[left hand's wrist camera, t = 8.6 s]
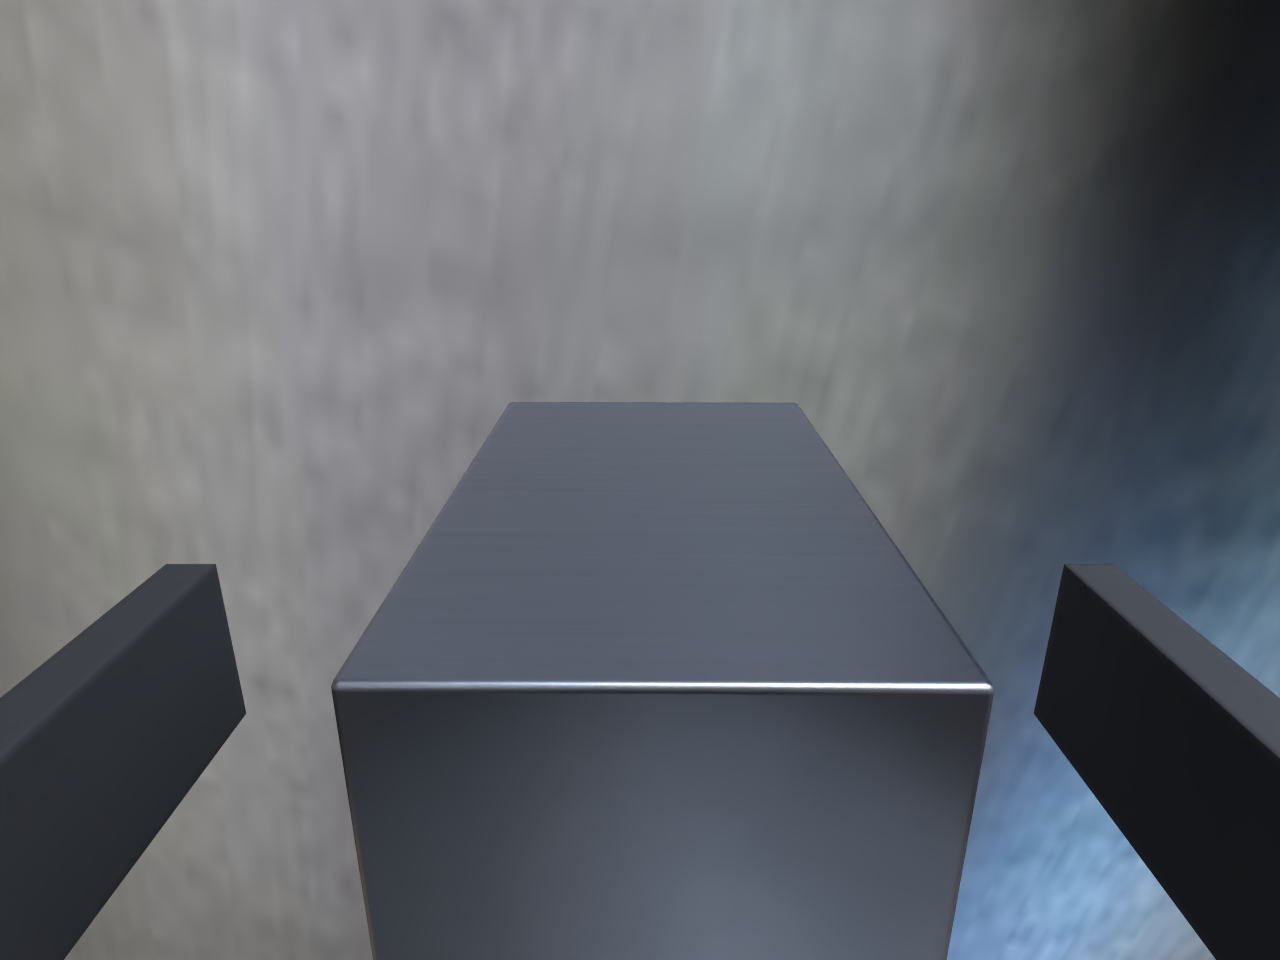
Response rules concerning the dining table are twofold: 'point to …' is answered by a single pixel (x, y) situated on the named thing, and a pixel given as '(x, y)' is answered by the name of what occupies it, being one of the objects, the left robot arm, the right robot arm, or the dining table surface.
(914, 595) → the bar
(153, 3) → the dining table surface
